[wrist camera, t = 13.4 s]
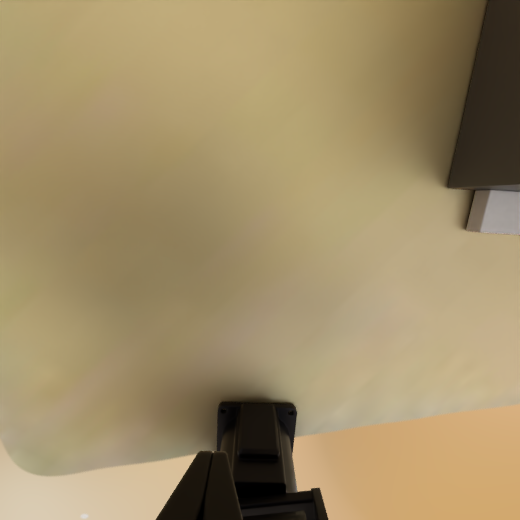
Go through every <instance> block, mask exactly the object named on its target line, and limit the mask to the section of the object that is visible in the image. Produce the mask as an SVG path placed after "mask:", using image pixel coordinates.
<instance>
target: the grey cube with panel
mask: <svg viewBox="0 0 520 520" xmlns="http://www.w3.org/2000/svg"><path fill="white" fill-rule="evenodd" d="M448 188H452V189H468V190H476V191H475V195H474V200H473V204H472V208H471V212H470V216H469V220H468V224H467V228H466V230H467V231H472V232H479V233H495V234H512V235H520V0H489V2H488V7H487V11H486V16H485V20H484V25H483V29H482V34H481V38H480V43H479V47H478V52H477V57H476V61H475V66H474V70H473V75H472V79H471V84H470V88H469V93H468V97H467V102H466V106H465V111H464V116H463V120H462V125H461V129H460V134H459V138H458V143H457V147H456V152H455V156H454V161H453V165H452V170H451V175H450V179H449V184H448Z"/></svg>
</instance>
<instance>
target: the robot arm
mask: <svg viewBox="0 0 520 520" xmlns="http://www.w3.org/2000/svg"><path fill="white" fill-rule="evenodd" d="M223 408H225V409H226V410H223ZM289 411H292V412H289ZM296 416H297V411H296V407H295V406H294V405H292V404H267V403H236V402H222V403H220V404H219V407H218V426H217V451H215V452H214V453H213V452H212V451H200V452H199V453H198V454H197V455H196V457H195V459H194V460H193V462H192V463H191V465H190V466H189V468H188V470H187V471H186V473H185V475H184V476H183V478H182V479H181V481H180V482H179V484H178V485H177V487H176V489H175V490H174V492H173V493H172V495H171V496H170V498H169V500H168V501H167V503H166V504H165V506H164V508H163V509H162V511H161V512H160V514H159V515H158V517H157V519H156V520H328V517H327V513H326V510H325V506H324V502H323V499H322V495H321V492H320V488H312V489H311V491H301V492H297V486H296V479H295V472H294V465H293V459H292V452H293V443H294V434H295V425H296Z"/></svg>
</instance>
